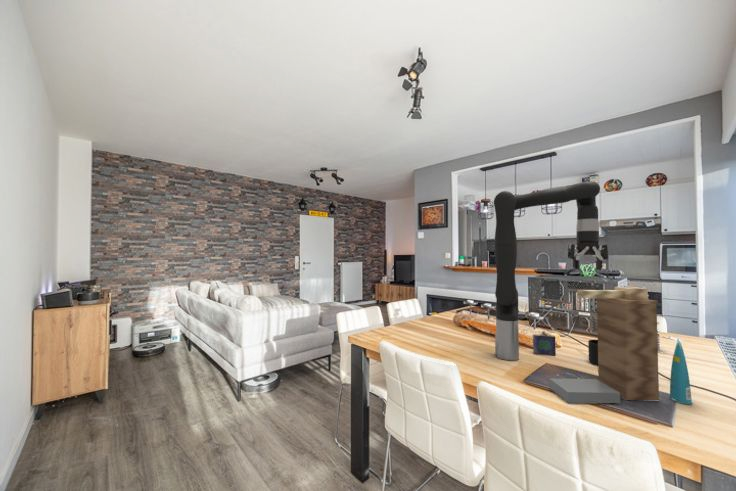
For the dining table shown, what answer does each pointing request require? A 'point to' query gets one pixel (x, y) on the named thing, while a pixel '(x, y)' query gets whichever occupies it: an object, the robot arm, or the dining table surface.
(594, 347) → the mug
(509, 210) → the robot arm
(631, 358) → the stand
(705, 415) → the dining table surface
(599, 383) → the board
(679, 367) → the tube
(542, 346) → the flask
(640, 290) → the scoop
